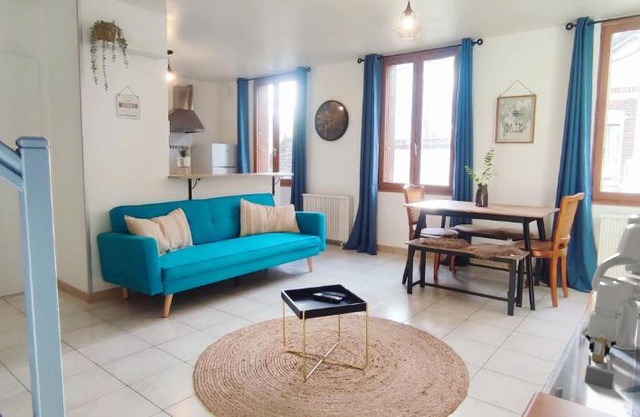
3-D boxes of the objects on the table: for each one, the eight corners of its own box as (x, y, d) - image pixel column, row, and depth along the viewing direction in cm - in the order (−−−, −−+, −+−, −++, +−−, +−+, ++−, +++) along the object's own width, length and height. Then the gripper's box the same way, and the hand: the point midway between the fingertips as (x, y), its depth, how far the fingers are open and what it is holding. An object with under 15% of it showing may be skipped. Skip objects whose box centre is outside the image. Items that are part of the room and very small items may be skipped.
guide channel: (585, 353, 184) (587, 340, 183) (609, 359, 180) (611, 346, 179) (584, 381, 161) (586, 366, 160) (611, 389, 157) (614, 374, 156)
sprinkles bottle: (606, 363, 176) (611, 332, 174) (595, 362, 176) (600, 332, 174) (598, 357, 181) (603, 327, 179) (588, 357, 180) (593, 327, 178)
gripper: (629, 313, 174) (622, 355, 177) (581, 304, 182) (575, 343, 185) (630, 320, 167) (623, 363, 170) (581, 309, 176) (574, 350, 179)
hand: (598, 352), depth 178 cm, fingers closed on sprinkles bottle, 4 cm apart
